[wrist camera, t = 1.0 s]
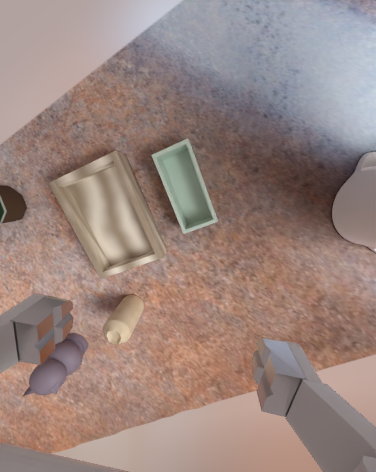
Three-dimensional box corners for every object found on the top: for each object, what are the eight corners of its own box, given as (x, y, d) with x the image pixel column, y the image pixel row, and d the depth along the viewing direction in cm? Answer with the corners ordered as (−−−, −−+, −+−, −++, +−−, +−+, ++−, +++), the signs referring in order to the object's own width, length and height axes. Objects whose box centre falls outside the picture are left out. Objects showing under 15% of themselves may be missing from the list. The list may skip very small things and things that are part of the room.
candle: (118, 296, 44) (94, 328, 34) (140, 292, 43) (121, 323, 34) (126, 316, 45) (105, 351, 36) (147, 312, 44) (131, 347, 35)
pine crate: (125, 154, 35) (115, 150, 31) (167, 250, 40) (163, 257, 36) (64, 183, 38) (48, 183, 34) (110, 270, 42) (100, 278, 38)
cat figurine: (86, 329, 48) (48, 375, 36) (96, 353, 50) (62, 405, 38) (57, 332, 49) (11, 377, 37) (67, 355, 51) (27, 406, 39)
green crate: (190, 144, 34) (188, 138, 29) (216, 216, 37) (218, 221, 32) (159, 158, 35) (151, 155, 30) (186, 227, 38) (183, 234, 33)
